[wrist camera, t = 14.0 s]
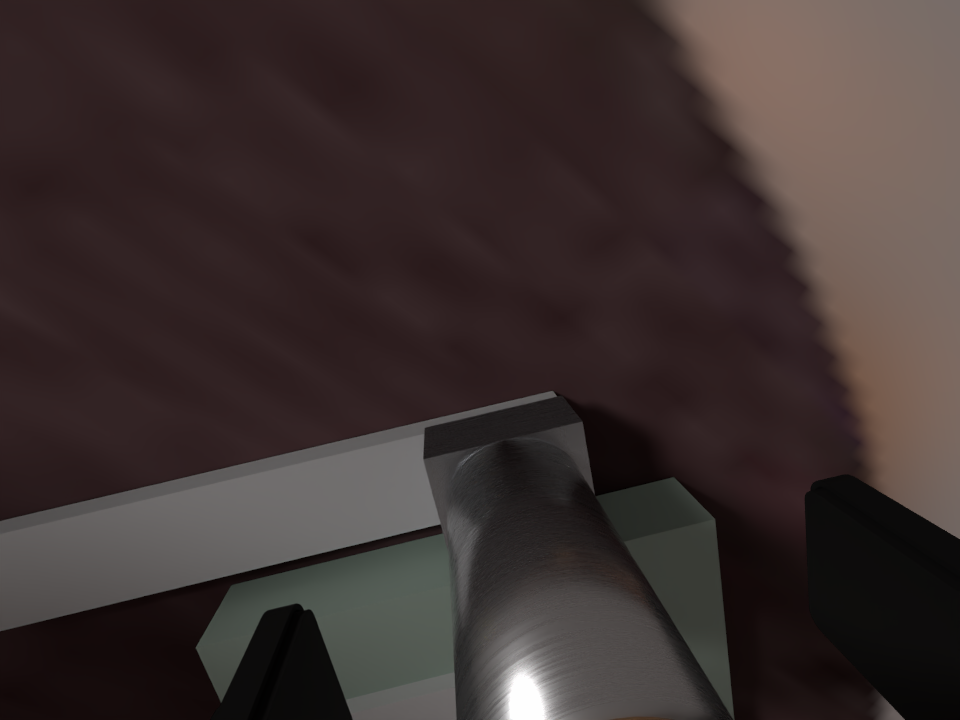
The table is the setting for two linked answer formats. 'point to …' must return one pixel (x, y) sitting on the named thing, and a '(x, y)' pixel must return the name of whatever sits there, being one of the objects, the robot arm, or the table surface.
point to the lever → (549, 581)
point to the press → (334, 562)
